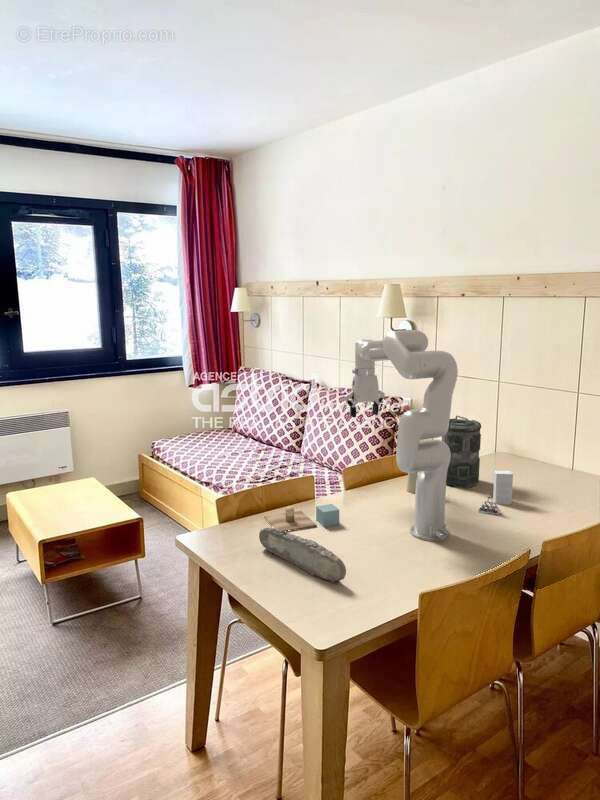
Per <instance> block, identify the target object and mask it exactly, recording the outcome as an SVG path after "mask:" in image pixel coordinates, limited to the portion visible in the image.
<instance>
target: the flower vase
mask: <svg viewBox="0 0 600 800" xmlns="http://www.w3.org/2000/svg"><path fill="white" fill-rule="evenodd" d="M402 409H403V410H405V411H409V410H414V408H412V405H409V404H406V405H403V406H402ZM397 412H398V413H399V414H401V411H399V410H398V409H397ZM398 413H395V412H393V415H397V416H399V417H400V418H401V416H402V415H399V414H398ZM396 436H397V437H398V434H397V435H396ZM418 474H419V472H415V473H407V478H406V480H407V481H406V488H405V489H406V490H405V491H406V492H407V493H410V494H416V480H417V477H418Z"/></svg>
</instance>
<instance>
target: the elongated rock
mask: <svg viewBox="0 0 600 800" xmlns="http://www.w3.org/2000/svg"><path fill="white" fill-rule="evenodd" d="M258 534H259V535H258V538H259V541H260V544H261V545H262V547H263V548H265V550H266V551H268V552H269V553H271V554H272V553H273V554H272V555H276V556H277V557H278V558H280V557H281V558H280V559H282V558H283V560H284V559H285V561H286V560H287V561H286V562H287V563H291V565H295V566H297V567H298V568H299V569H301V570H303V571H306V572H307V573H308V574H310V575H311V577H316V576H317V577H319V578H321V579H323V580H326V581H328V582H331V584H332V583H333V584H334V583H336V582H340V581H343V580H344V579H345V577H346V576H347V575H346V574H347V569H346V565H345V563H344V562H343V560H342V559H341V558H340V557H338V555H336V554H335V553H333V551H331V550H329V549H327V548H326V547H325V546H323V545H320V544H318V542H316V541H314V540H312V539H307V538H303V537H301V536H300V535H295V534H292V533H290V532H285V531H280V530H278V529H275V528H272V527H264V528H262V529H260V531H259V533H258Z"/></svg>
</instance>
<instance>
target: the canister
mask: <svg viewBox="0 0 600 800" xmlns="http://www.w3.org/2000/svg"><path fill="white" fill-rule="evenodd" d="M481 429H482V424H481V422H480V421H477V420H475V419H472V420H471V419H468V418H467V417H464V416H461V415H458V414H456V415H455V418H450V420H449V427H448V431H447V433H446V434H445V435H444V436H442V437H441V441H443V442H445V443H446V444H447V445H448V447H449V449H450V454H451V456H450V462H449V466H448V471H447V478H446V486H452V487H459V488H460V487H461V488H466V489H467V488H473V487H475V486H476V485H478V483H479V481H480V465H481V463H480V462H481V461H480V460H481V458H480V450H481V440H482V437H481V436H482V434H481Z"/></svg>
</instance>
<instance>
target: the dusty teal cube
mask: <svg viewBox="0 0 600 800" xmlns="http://www.w3.org/2000/svg"><path fill="white" fill-rule="evenodd" d="M315 509H316V510H315V512H316V513H315V517H316V518H315V520H316V522H317V521H318V522H319V523H320V524H321V525H320V524H319V523H318V522H317V523H318V524H319V525H320V526H322V528H325V527H324V526H327V527H332V525H333V526H338V525H337V524H339V525H340V509H339V508H338V507H336V505H334V504H333V503H330V504H329V503H327V504H323V505H317V506H316V507H315Z"/></svg>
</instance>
